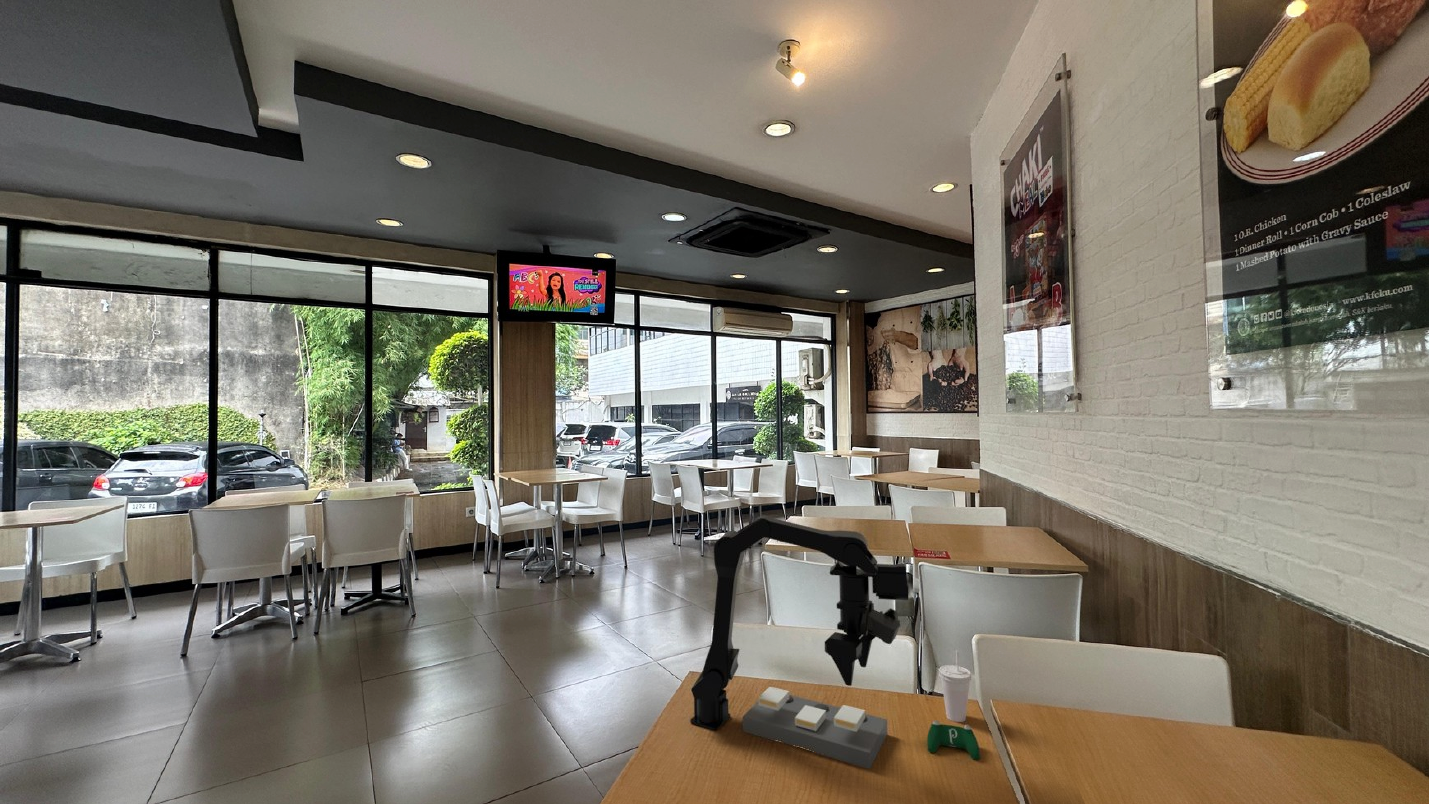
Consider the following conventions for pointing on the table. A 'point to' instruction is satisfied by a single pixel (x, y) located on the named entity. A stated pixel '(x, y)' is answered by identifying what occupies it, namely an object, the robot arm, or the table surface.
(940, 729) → the gaming controller
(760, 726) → the control panel
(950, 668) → the smoothie
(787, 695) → the left button
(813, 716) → the middle button
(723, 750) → the table surface
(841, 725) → the right button
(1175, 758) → the table surface
